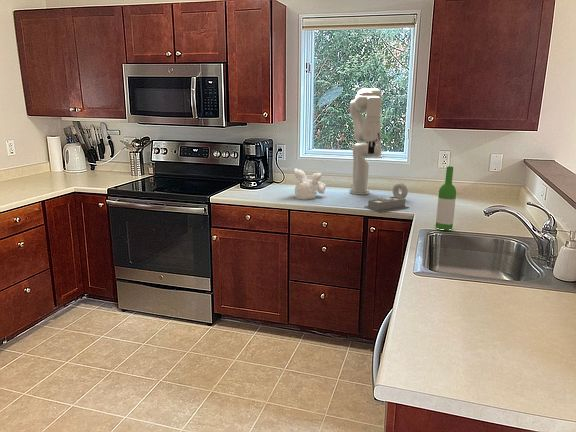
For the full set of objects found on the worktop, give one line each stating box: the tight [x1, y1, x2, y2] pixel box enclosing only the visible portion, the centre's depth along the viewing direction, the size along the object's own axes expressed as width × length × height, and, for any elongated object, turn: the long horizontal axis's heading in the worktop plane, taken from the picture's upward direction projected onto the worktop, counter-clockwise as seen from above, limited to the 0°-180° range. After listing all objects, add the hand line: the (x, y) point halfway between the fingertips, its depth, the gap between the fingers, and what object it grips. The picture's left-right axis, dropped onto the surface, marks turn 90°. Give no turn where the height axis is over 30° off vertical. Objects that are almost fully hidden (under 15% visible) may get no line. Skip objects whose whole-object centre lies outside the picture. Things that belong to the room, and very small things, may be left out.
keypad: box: [363, 195, 410, 214], centre depth 269 cm, size 14×20×5 cm
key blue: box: [381, 196, 393, 201], centre depth 269 cm, size 4×4×3 cm
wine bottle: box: [435, 165, 457, 230], centre depth 226 cm, size 8×8×30 cm
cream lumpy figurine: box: [293, 167, 327, 201], centre depth 292 cm, size 19×20×20 cm
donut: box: [392, 182, 409, 199], centre depth 289 cm, size 10×4×10 cm, turn 43°
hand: (371, 153), depth 269 cm, fingers closed
